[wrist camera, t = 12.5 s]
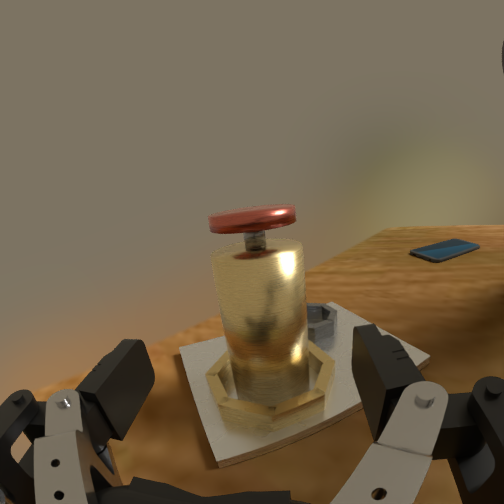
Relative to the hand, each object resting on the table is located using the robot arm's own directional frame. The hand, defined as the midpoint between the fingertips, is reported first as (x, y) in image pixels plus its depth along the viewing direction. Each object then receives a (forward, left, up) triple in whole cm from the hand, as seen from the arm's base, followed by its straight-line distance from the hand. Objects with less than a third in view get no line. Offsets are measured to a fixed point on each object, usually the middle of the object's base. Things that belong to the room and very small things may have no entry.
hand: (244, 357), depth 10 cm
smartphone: (-45, -18, -9) cm, 49 cm away
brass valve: (-3, -6, -8) cm, 10 cm away
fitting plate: (-6, -8, -8) cm, 13 cm away
